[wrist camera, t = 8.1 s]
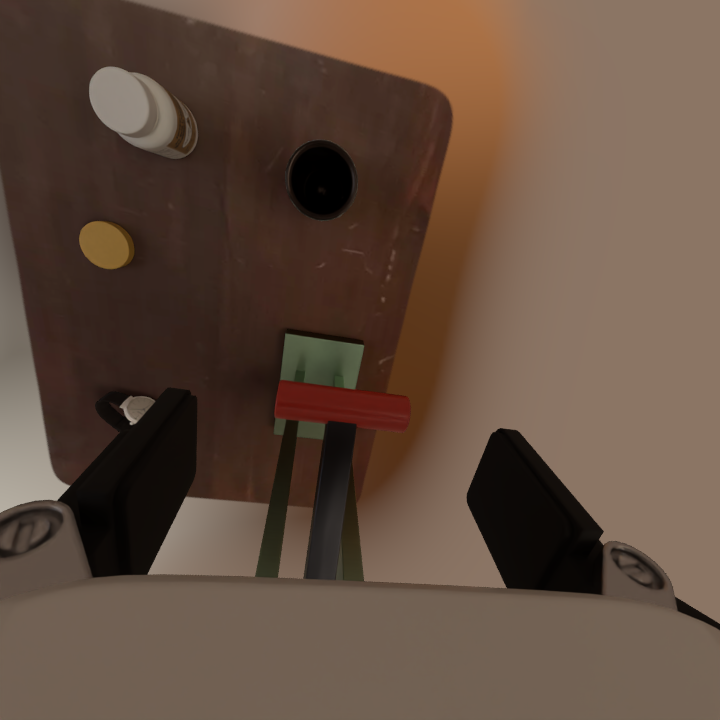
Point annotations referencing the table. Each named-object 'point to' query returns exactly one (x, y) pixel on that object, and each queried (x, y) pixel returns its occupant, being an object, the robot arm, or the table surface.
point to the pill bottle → (143, 112)
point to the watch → (131, 406)
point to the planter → (321, 180)
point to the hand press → (323, 367)
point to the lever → (336, 454)
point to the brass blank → (106, 244)
